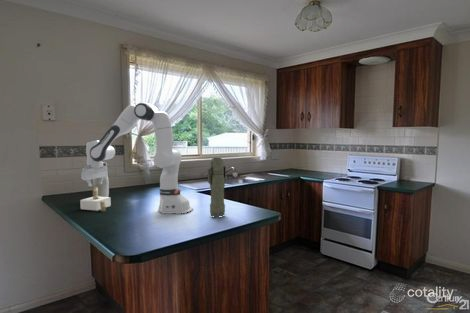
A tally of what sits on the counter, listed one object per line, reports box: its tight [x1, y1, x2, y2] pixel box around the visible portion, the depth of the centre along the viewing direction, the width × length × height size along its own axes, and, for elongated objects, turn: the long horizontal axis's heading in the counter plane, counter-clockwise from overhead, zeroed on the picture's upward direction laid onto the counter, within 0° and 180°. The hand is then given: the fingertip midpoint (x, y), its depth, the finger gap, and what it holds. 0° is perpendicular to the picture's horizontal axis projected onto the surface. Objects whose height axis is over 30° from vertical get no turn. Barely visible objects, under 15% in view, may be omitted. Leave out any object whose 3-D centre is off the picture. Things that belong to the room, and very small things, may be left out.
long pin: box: [92, 186, 98, 200], centre depth 196 cm, size 3×3×14 cm
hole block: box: [79, 196, 112, 211], centre depth 196 cm, size 13×13×6 cm
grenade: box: [207, 157, 227, 217], centre depth 174 cm, size 9×12×35 cm
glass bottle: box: [92, 175, 110, 197], centre depth 216 cm, size 10×10×28 cm
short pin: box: [100, 201, 107, 212], centre depth 187 cm, size 3×3×6 cm
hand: (95, 185), depth 195 cm, fingers open, 8 cm apart
